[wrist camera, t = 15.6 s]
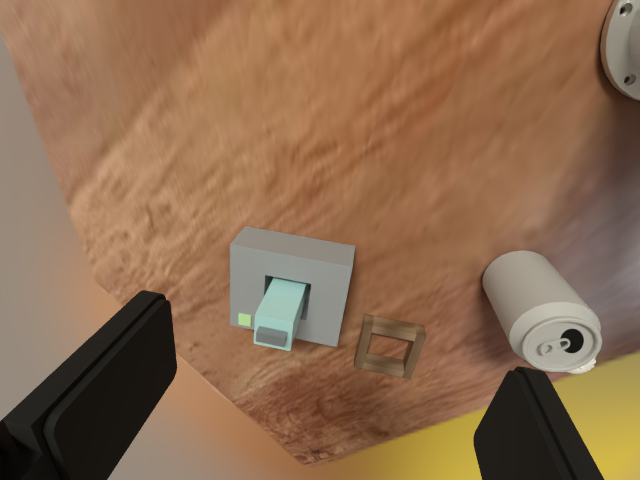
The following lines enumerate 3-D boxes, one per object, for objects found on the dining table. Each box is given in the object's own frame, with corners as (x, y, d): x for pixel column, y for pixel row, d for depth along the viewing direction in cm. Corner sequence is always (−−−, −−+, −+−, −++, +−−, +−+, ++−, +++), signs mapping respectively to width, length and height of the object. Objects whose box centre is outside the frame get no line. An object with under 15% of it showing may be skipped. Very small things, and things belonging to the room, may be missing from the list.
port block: (355, 246, 42) (352, 268, 37) (340, 321, 47) (336, 348, 43) (245, 226, 43) (229, 245, 38) (243, 301, 48) (229, 326, 44)
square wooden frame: (424, 325, 45) (425, 336, 44) (409, 367, 49) (410, 379, 47) (364, 314, 46) (364, 323, 44) (354, 356, 50) (353, 367, 48)
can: (553, 293, 41) (614, 372, 30) (486, 306, 43) (521, 384, 32) (545, 239, 38) (611, 306, 27) (474, 256, 40) (509, 323, 29)
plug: (310, 270, 43) (291, 328, 33) (307, 295, 45) (287, 358, 35) (280, 264, 43) (251, 320, 34) (278, 289, 45) (250, 350, 36)
